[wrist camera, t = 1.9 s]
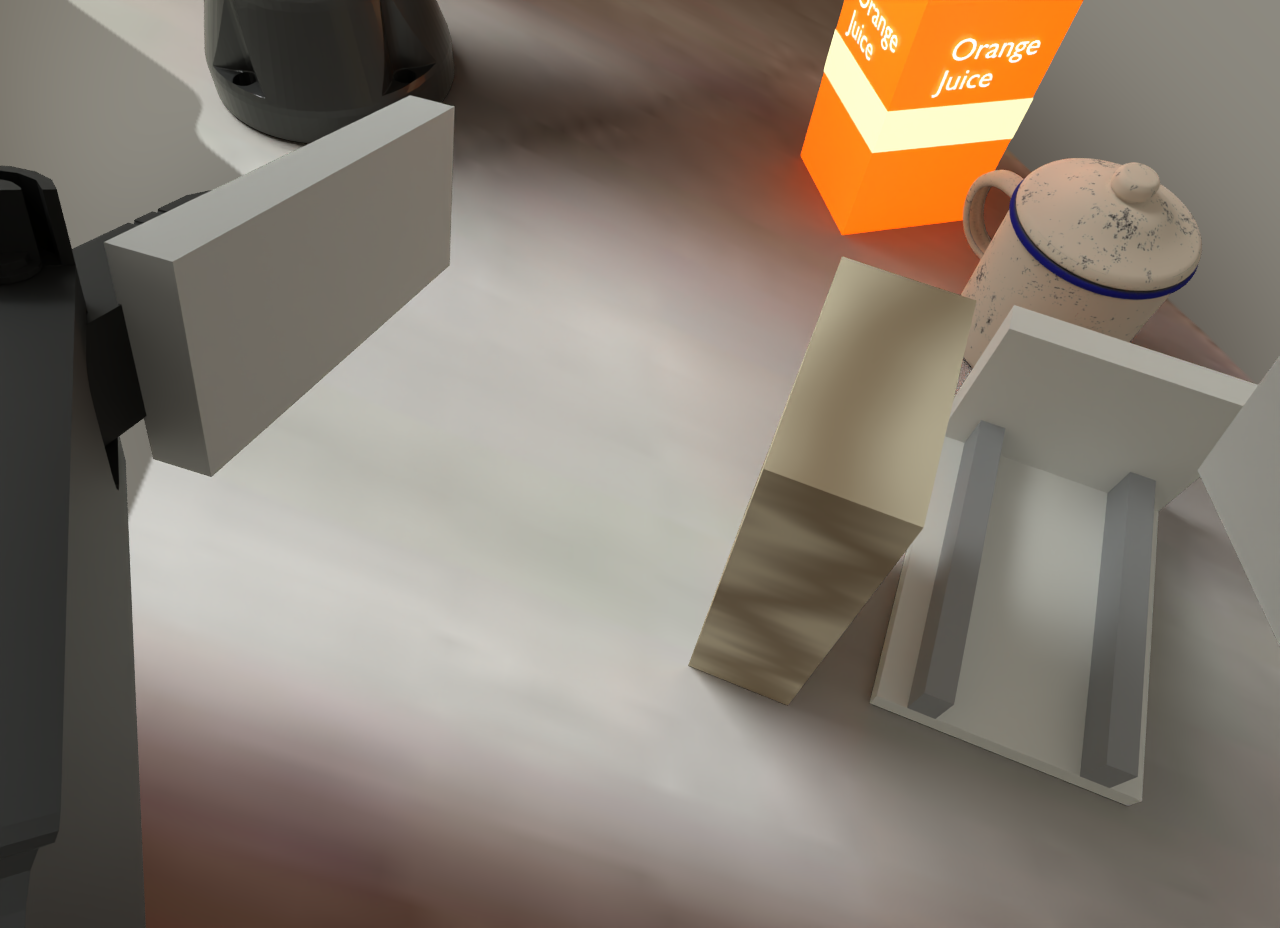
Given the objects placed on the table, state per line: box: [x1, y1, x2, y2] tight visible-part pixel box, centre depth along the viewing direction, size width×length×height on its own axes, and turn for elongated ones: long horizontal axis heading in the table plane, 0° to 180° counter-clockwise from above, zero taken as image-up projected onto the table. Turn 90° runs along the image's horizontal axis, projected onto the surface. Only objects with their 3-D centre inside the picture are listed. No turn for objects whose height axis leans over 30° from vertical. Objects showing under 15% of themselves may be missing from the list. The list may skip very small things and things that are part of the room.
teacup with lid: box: [961, 158, 1202, 368], centre depth 44 cm, size 12×9×12 cm
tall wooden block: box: [688, 256, 976, 706], centre depth 32 cm, size 4×9×16 cm, turn 159°
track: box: [870, 305, 1258, 806], centre depth 36 cm, size 16×11×9 cm
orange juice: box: [801, 0, 1083, 235], centre depth 47 cm, size 8×9×20 cm
